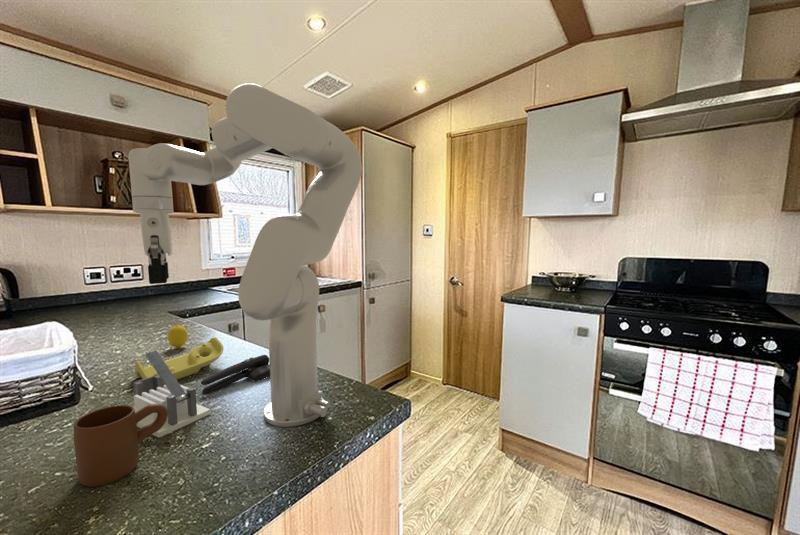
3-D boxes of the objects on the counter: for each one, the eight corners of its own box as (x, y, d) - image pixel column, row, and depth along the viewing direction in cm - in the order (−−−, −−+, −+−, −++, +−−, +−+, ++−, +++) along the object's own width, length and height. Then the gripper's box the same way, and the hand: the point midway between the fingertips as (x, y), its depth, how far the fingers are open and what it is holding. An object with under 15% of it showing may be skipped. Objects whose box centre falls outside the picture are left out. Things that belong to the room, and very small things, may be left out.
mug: (166, 440, 64) (162, 391, 63) (175, 460, 59) (171, 406, 58) (77, 471, 56) (72, 415, 55) (78, 497, 51) (72, 435, 50)
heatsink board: (210, 413, 74) (208, 384, 73) (158, 437, 65) (156, 404, 64) (171, 397, 81) (169, 370, 81) (120, 417, 73) (118, 387, 72)
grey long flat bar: (188, 399, 71) (190, 395, 70) (175, 404, 68) (176, 401, 68) (157, 352, 75) (158, 349, 75) (143, 356, 73) (144, 353, 73)
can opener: (265, 369, 98) (264, 350, 98) (278, 376, 94) (277, 355, 93) (196, 390, 85) (194, 368, 85) (206, 399, 81) (205, 376, 80)
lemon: (171, 346, 118) (170, 323, 117) (190, 344, 120) (188, 322, 119) (166, 351, 113) (164, 327, 112) (185, 350, 114) (184, 326, 113)
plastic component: (149, 381, 85) (133, 357, 89) (148, 403, 88) (134, 378, 92) (229, 353, 100) (213, 333, 105) (227, 372, 103) (211, 352, 108)
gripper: (172, 203, 74) (178, 283, 75) (174, 209, 88) (179, 276, 90) (127, 202, 70) (135, 287, 71) (137, 208, 84) (143, 278, 86)
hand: (159, 281), depth 81 cm, fingers open, 9 cm apart
